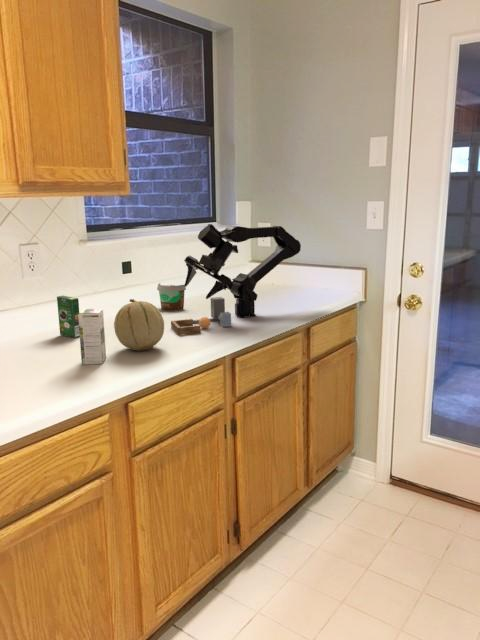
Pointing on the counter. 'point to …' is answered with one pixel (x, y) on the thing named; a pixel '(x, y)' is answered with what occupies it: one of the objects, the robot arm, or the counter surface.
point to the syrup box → (92, 336)
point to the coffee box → (68, 316)
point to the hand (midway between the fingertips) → (195, 292)
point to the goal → (185, 327)
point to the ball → (204, 322)
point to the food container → (171, 297)
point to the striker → (220, 311)
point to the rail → (210, 320)
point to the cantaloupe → (139, 325)
